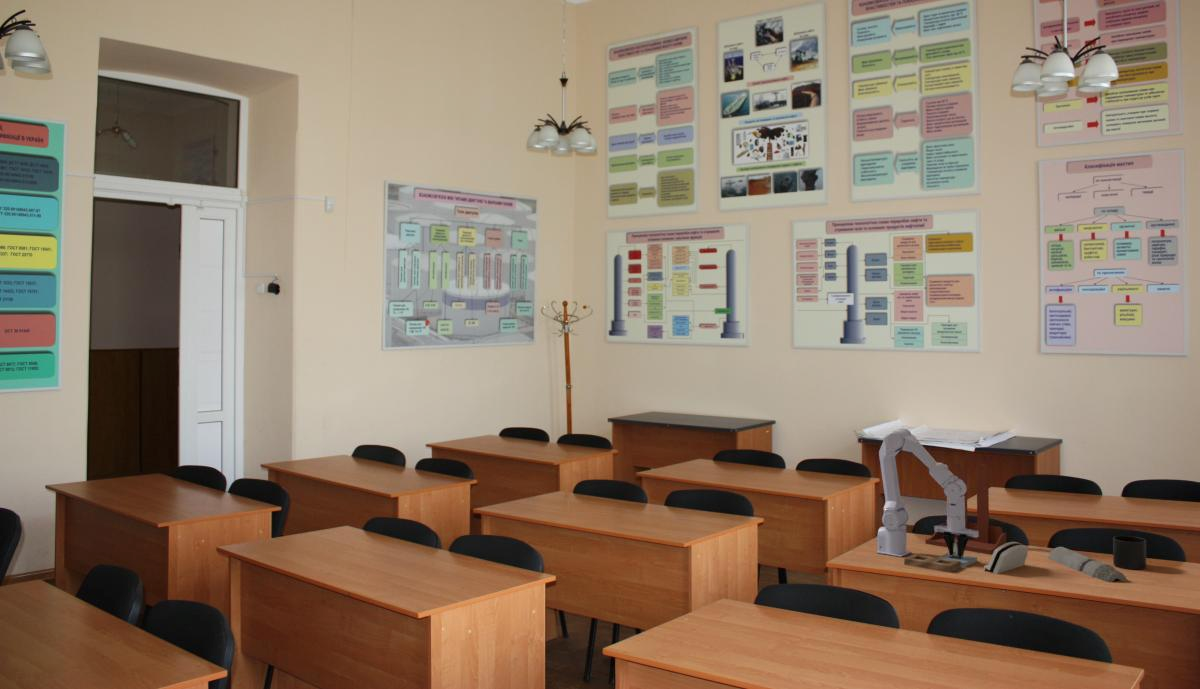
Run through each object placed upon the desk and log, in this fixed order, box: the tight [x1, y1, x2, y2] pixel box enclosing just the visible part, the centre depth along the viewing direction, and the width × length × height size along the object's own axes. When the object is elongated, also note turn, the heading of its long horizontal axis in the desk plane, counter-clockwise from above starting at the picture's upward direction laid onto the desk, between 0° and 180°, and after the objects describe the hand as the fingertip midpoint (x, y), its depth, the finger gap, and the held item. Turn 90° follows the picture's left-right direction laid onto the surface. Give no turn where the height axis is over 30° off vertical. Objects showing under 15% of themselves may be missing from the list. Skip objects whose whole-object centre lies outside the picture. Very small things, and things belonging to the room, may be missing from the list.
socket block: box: [937, 551, 978, 568], centre depth 319 cm, size 10×10×2 cm
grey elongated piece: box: [1048, 546, 1128, 583], centre depth 307 cm, size 9×4×30 cm
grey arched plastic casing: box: [982, 541, 1029, 575], centre depth 309 cm, size 17×5×10 cm, turn 125°
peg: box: [952, 541, 961, 559], centre depth 319 cm, size 3×3×7 cm
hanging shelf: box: [925, 461, 1007, 556], centre depth 341 cm, size 24×13×30 cm, turn 43°
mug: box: [1112, 535, 1147, 571], centre depth 310 cm, size 9×12×9 cm
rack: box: [903, 553, 962, 573], centre depth 315 cm, size 16×8×2 cm, turn 46°
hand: (956, 555), depth 319 cm, fingers closed on peg, 3 cm apart
